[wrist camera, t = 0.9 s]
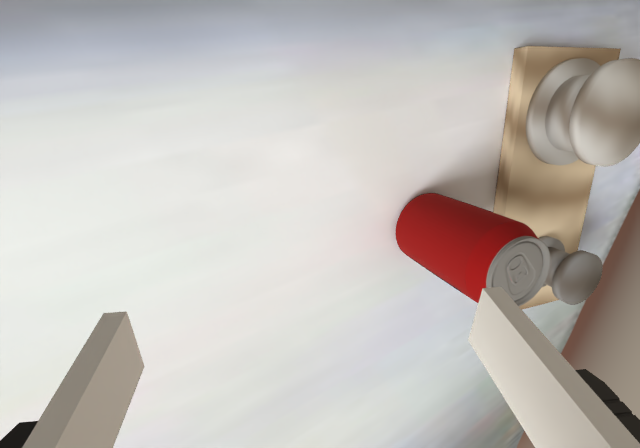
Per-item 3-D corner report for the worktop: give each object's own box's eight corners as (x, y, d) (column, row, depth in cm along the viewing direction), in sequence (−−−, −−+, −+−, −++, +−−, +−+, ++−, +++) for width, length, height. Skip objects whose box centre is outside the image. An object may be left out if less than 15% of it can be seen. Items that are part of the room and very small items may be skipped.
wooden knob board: (514, 48, 33) (583, 35, 28) (604, 50, 37) (682, 40, 31) (480, 311, 42) (527, 343, 36) (556, 291, 46) (609, 318, 40)
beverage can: (408, 268, 37) (499, 334, 26) (379, 218, 34) (468, 270, 23) (458, 228, 38) (567, 277, 27) (434, 177, 35) (545, 208, 24)
